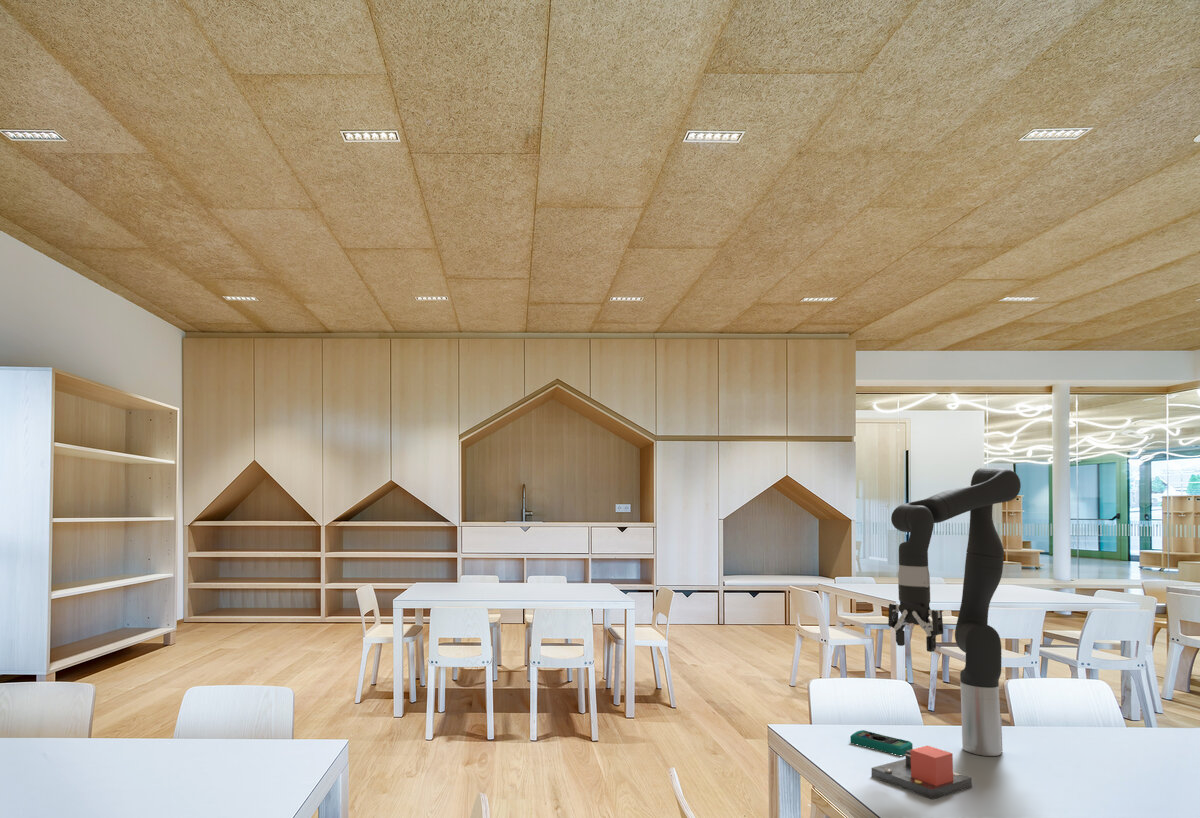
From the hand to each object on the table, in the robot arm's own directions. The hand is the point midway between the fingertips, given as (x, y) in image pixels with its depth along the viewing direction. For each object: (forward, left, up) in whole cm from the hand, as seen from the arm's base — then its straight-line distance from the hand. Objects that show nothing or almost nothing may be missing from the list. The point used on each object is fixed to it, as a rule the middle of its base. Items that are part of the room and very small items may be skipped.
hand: (915, 648), depth 196 cm
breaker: (+7, +4, -26) cm, 27 cm away
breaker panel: (+11, +8, -28) cm, 31 cm away
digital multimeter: (-3, -14, -29) cm, 32 cm away
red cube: (+12, +12, -26) cm, 31 cm away
